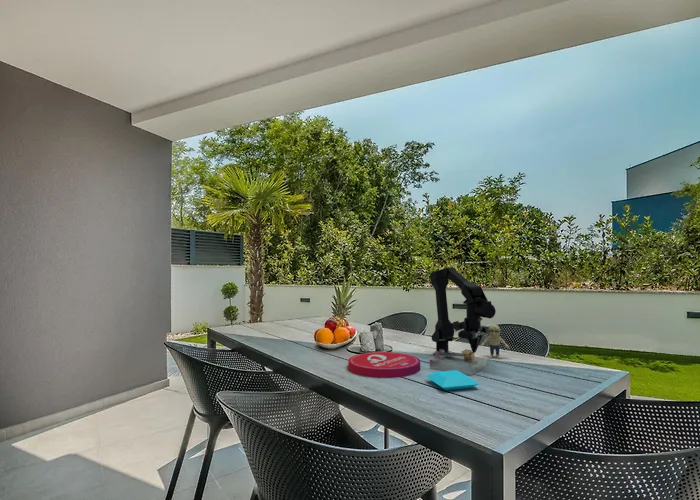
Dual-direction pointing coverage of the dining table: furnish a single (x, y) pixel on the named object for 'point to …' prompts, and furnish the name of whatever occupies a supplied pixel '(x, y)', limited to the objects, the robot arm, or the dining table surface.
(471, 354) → the tab
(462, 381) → the prism
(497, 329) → the toy
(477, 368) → the grey piece
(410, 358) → the sign
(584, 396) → the dining table surface
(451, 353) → the strap
